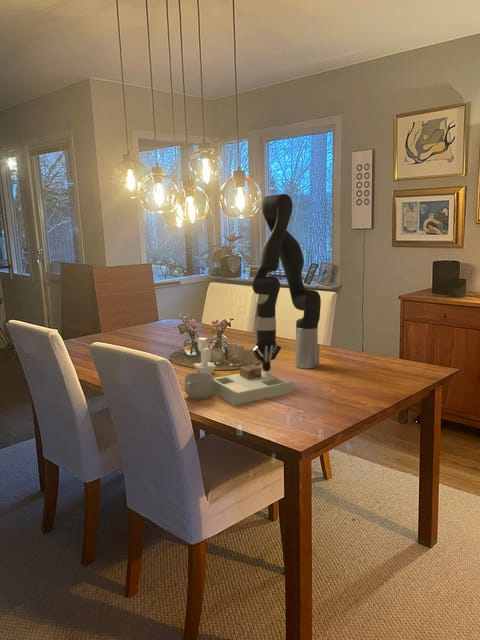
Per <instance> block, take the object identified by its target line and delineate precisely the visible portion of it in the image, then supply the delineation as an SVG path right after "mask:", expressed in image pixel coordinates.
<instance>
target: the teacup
mask: <svg viewBox="0 0 480 640" xmlns="http://www.w3.org/2000/svg"><path fill="white" fill-rule="evenodd" d="M215 378H216V377H215V376H214V375H213V374H209V373H202V372H197V371H196V372H191V373H190V372H189V373H187V374H185V375H184V392H185V394H186V395H187V396H188V397H189V398H190V399H192V400H195V401H196V400H197V401H203V400H207V399H209V397H211V396H212V395H213V394H214V393H213V390H214V379H215Z"/></svg>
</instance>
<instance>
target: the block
mask: <svg viewBox="0 0 480 640" xmlns="http://www.w3.org/2000/svg"><path fill="white" fill-rule="evenodd" d="M261 371H262V367H260V366H257V365H255V364H250V365H249V364H248V365H243V366H239V374H240V376H242V377H244V378H246V379H254V378H259V377H261Z"/></svg>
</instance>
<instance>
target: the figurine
mask: <svg viewBox="0 0 480 640" xmlns="http://www.w3.org/2000/svg"><path fill="white" fill-rule="evenodd" d="M208 345H209V342H208V338H207V337H198V338H197V349H198V350H199V351H200V362H198V363H193V366H194V368H195V370H196V372H202V373H209V374H211V375H213V372H214V371H215V368H216V367H217V366H216V365H215V364H214V363H212V362H211V358H212V357H211V355H212V354H211V350H210V348H209V346H208Z"/></svg>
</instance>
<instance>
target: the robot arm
mask: <svg viewBox="0 0 480 640" xmlns="http://www.w3.org/2000/svg"><path fill="white" fill-rule="evenodd" d="M261 211H262V215H263V217H264V220H265V222H266V225H267V227H268V229H269V231H270V234H269V236H268V237H267V239H266V241H265V242H264V244H263V246H262V252H261V255H260V262H259V266H258V269H257V271H256V273H255V276H254V278H253V280H252V284H251V285H252V287H251V288H252V290H253V291H252V292H254V294H256V295H260V296H261V295H262V296H263V295H265V296H267V299H264V300H260V301H258V302H257V305H256V306H257V308H256V311H257V313H256V345H255V347H254V348H251V353H252V354H253V356H254V357H255V358H256V359H257V361H260V362H261V363H262V364H261V366H262V367H261V369H262V371H263V372H270V370H271V361H273V360H276V357H277V356H278V355H279V353H280V351H281V349H282V347H281V345H278V344H277V341H276V339H277V321H276V305H277V301H278V297H279V293H280V290H281V282H280V279H279V278H277V277H276V276H268V274H270V273H273V272H276V271H277V270H278V269H279V265H280V262H281V265H282V269H283V271H284V274H285V277H286V280H287V284H288V289H289V290H288V291H289V293H290V297H291V298H290V299H291V302H292V305H293V307H294V308H295V309H296V310H298V311H303V316H302V318H298V319H297V320H296V321H295V367H297V368H299V369H309V370H310V369H315V368H317V367H320V344H319V336H318V335H319V322H320V319H321V303H322V301H321V295H320V292H318V291H317V290H313V289H309V288H308V289H307V288H306V287H305V285H304V282H303V279H302V275H303V270H304V264H305V259H304V255H303V252H302V249H301V248H302V247H301V245H300V243H299V242H298V241H297V240H296V238H295V237H294V236H293V235H292V234H291V233H290V232H289V231H288V230H287V229H288V225H289V223H290V219H291V216H292V214H293V199H292V198H291V196H290V195H289V194H287V193H279V194H273V195H266V196H264V197H263V198H262V200H261Z"/></svg>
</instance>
